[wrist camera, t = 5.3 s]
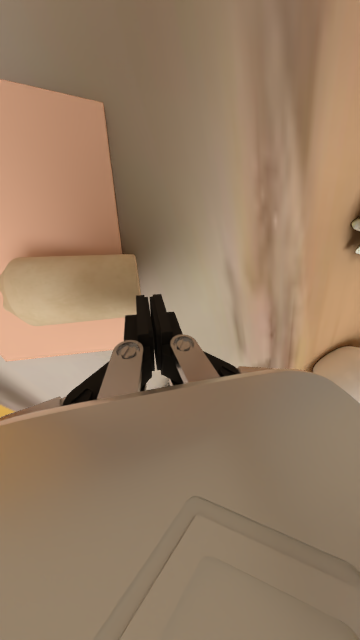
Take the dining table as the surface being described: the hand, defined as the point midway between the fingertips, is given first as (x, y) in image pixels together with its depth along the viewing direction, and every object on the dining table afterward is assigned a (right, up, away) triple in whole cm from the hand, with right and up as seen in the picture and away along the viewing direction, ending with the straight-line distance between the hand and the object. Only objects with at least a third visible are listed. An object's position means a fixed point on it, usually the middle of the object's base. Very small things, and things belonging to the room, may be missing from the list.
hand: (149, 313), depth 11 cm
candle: (-1, +3, +4) cm, 5 cm away
